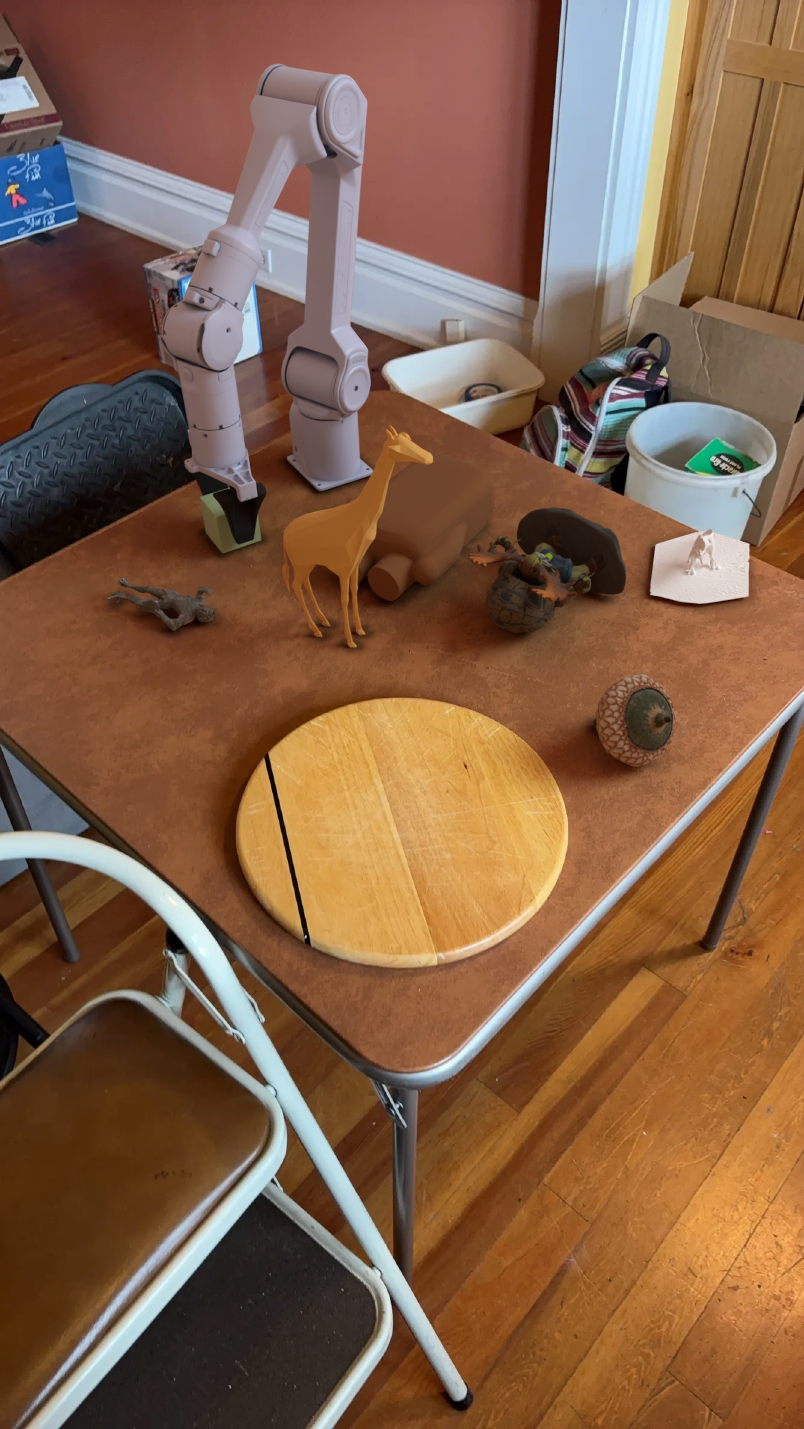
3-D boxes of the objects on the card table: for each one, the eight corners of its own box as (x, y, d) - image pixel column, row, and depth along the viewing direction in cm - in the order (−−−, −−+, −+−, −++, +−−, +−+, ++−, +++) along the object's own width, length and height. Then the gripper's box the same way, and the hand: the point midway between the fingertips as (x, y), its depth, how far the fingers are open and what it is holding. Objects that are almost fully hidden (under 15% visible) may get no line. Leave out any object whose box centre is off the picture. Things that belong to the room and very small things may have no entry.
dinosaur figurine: (673, 543, 119) (678, 491, 116) (775, 562, 113) (784, 509, 110) (622, 593, 109) (626, 538, 106) (731, 617, 103) (740, 560, 100)
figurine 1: (124, 558, 108) (216, 575, 104) (139, 580, 111) (229, 598, 107) (96, 602, 106) (190, 622, 101) (113, 624, 109) (204, 643, 105)
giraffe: (439, 645, 102) (441, 423, 85) (423, 672, 100) (422, 447, 82) (298, 609, 107) (273, 391, 90) (278, 633, 104) (249, 413, 87)
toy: (420, 623, 107) (517, 528, 117) (418, 566, 101) (519, 472, 112) (315, 576, 113) (416, 491, 124) (307, 521, 107) (413, 436, 118)
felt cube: (205, 533, 118) (199, 496, 114) (244, 520, 120) (238, 484, 116) (222, 553, 115) (216, 517, 111) (261, 540, 117) (256, 504, 113)
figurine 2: (652, 534, 104) (568, 593, 92) (626, 610, 110) (544, 674, 98) (541, 485, 110) (448, 533, 98) (522, 559, 116) (433, 613, 104)
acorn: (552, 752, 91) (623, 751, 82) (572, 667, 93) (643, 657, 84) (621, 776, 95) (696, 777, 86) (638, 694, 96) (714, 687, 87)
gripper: (155, 400, 110) (176, 506, 119) (205, 457, 101) (224, 566, 110) (214, 384, 112) (230, 489, 122) (268, 438, 103) (281, 547, 113)
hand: (231, 524), depth 116 cm, fingers open, 7 cm apart
